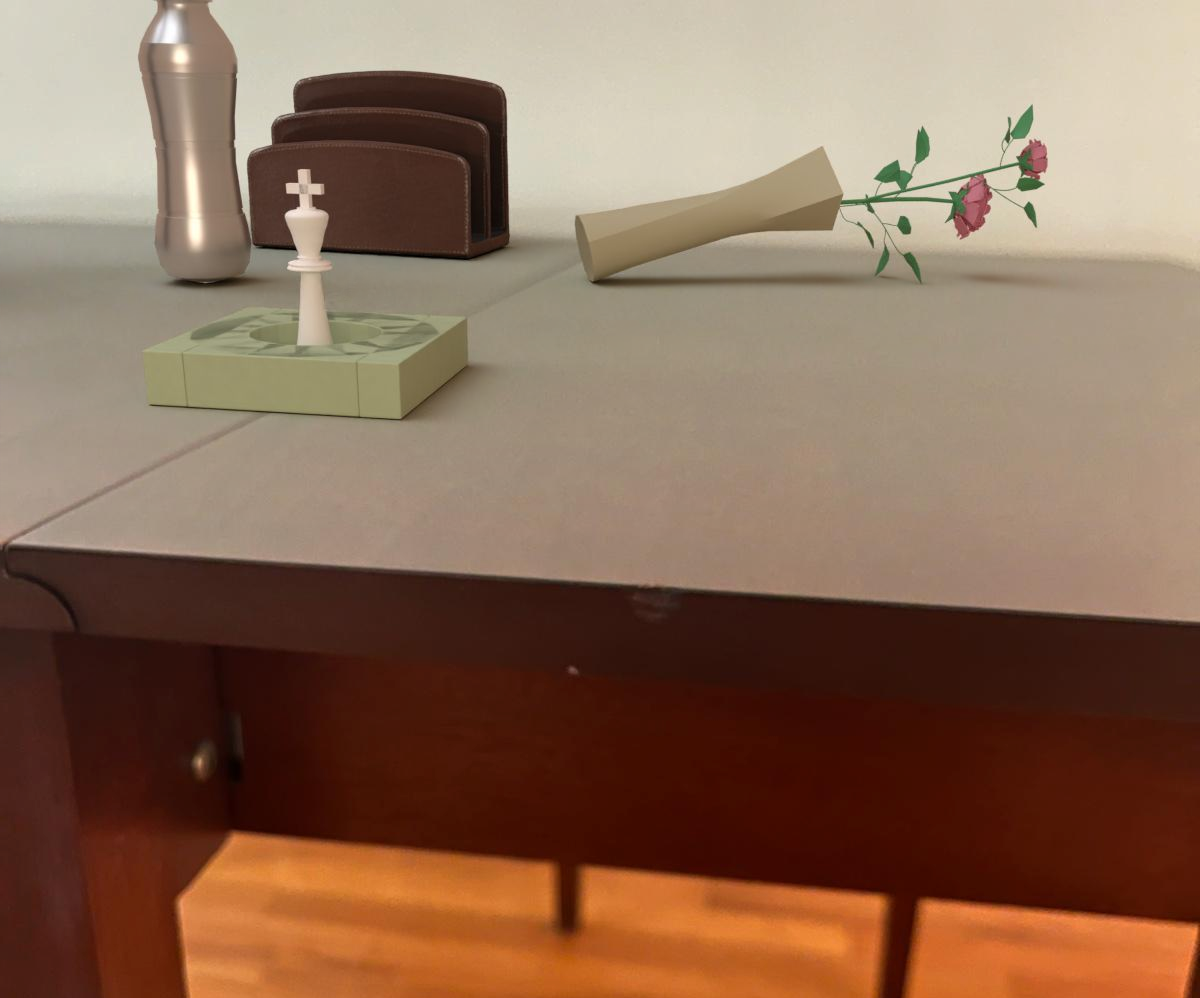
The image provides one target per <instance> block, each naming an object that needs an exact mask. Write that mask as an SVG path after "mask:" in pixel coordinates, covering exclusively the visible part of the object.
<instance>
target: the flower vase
mask: <svg viewBox="0 0 1200 998" xmlns="http://www.w3.org/2000/svg"><path fill="white" fill-rule="evenodd" d="M1033 105H1034V104H1033V103H1032V104H1030V106H1029V107H1028V108H1027V109H1026V110H1025V111H1024V113H1023V114H1021V116H1020V118H1019V119H1018V121H1017V122H1016V124H1015V126H1014V127H1013V129H1012V130H1011V127H1012V117H1010V116H1007V124H1008V129H1007V131H1006V134H1005V136H1004V138H1003V139H1002V141H1001V145H1000V146H1001V150H1002V152H1003V153H1002V156H1001V158H1000V162H999V166H997V167H996V166H995V167H992V168H988V169H984V170H980V171H977V172H972V173H969V174H965V175H960V176H956V177H952V178H949V179H944V180H940V181H935V182H932V183H926V184H922V185H917V186H912V187H908V184H909V183H910V181H912V179H913V178H914V176H913V173H914V172H915V171H914V170H915V168H916V167H917V165H919V164H920V163H922V162H923V161H925V160H926V158H928V157H929V155H930V150H931V147H930V137H929V135H928V133H927V131H926V129H925V127H924V125H921V128H920V129H917V133H916V141H915V157H914V161H915V163H914V164H913V166H912V168H911V170H910V172H908V171H906V170H905V169H903V170H902V169H901V165H900V163H899V162H900V161H899V159H896V160H894V161H892V162H891V163H889V164H887V165H886V166H884V167H883V168H882V169H881V170H880V171H879V172H878V173H877V174H876V176H875V177H873V180H875V181H878V182H880V183H879V184H878V187H877V188H876V191H875V193H874V195H873V196H869V194H867V193H865V198H858V199H856V198H855V199H854V198H853V199H843V198H844V191H843V189H842V186H841V184H840V182H839V180H838V177H837V175H836V173H835V170H834V168H833V166H832V164H831V161H830V159H829V157H828V154H827V152H826V150H825V147H824V146H823V145H821V146H819V147H817V148H816V149H813V150H812V151H809V152H807V153H806V154H803V155H801V156H800V157H798V158H796V159H794V160H792V161H790V162H788V163H786V164H784V165H782V166H780V167H778V168H777V169H775V170H773V171H771V172H768V173H767V174H765V175H762V176H759V177H757V178H754V179H752V180H751V179H750V180H749V181H746V182H744V183H741V184H738V185H735V186H731V187H728V188H725V189H722V190H717V191H713V192H708V193H703V194H697V195H692V196H686V197H680V198H675V199H669V200H662V201H656V202H650V203H642V204H637V205H632V206H627V207H623V208H616V209H609V210H605V211H599V212H591V213H590V212H589V213H582V214H575V218H574V230H575V238H576V243H577V247H578V253H579V257H580V259H581V262H582V266H583V270H584V272H585V274H586V276H587V278H588V280H589V281H590V282H597V281H599V280H602V279H605V278H607V277H610V276H612V275H615V274H618V273H621V272H623V271H624V272H625V271H627V270H629V269H632V268H634V267H637V266H641V265H643V264H647V263H650V262H653V261H657V260H659V259H662V258H666V257H669V256H673V255H675V254H679V253H682V252H685V251H688V250H692V249H694V248H698V247H701V246H705V245H707V244H710V243H711V244H712V243H714V242H717V241H720V240H724V239H728V238H731V237H736V236H742V235H748V234H754V233H765V232H816V231H817V232H821V231H822V232H824V231H833V230H834V227H835V224H836V220H837V217H838V213H839V212H840V215H841V217H842V218H843V220H844V221H845V222H848V223H850V224H851V223H852V224H854V225H856V226H857V227H859V228H861V229H862V230H863V231H864V233H865V235H866V237H867V240H868V241H869V244H870V245H871V247H872V249H875V241H874V238H873V236H872V233H871V232H870V231H868V229H867V228H865V227H864V225H863V224H862V223H861V222H860V221H857V222H854V221H850V220H847V219H846V218H845V217H844V215H843V212H842V210H841V208H843V207H844V208H845V207H855V206H865V207H866V209H867V212H869V213H870V214H873V215H874V216H875V217H876V218H877V220H878V221H879V222H880V224H881V225H882V227H883V228H884V238H883V251H882V253H881V256H880V259H879V261H878V264H877V267H876V270H875V273H874V277H876V276H878V275H879V274H880V273H881V272H883V270H884V269H885V268H886V266H887V264H888V262H889V260H890V255H891V254H890V251H889V248H888V246H887V244H886V243H885V239H886V235H887V236H888V238H889V239H890V241H891V243H892V245H893V246H894V248H895V250H896V252H898V253H899V254H900V256H902V257H903V258H904V260H905V262H906V263H907V264H908V265H909V267H911V269H912V272H913V273H914V275H915V277H916V279H917V280H918V281H919V283H920V285H922V284H923V281H922V275H921V269H920V266H919V263H918V261H917V258H916V257H915V256H914V254H913V253H912V252H911V251H908V252H905V253H902V252H901V251H900V250H899V249H898V248H897V246H896V244H895V243H894V241H893V239H892V237H891V236H890V234H889V231H888V230H887V228H886V226H885V225H887V226H893V227H897V228H898V229H899V231H900V232H901V234H902V235H903V236H904V235H906V236H907V235H911V234H912V225H911V222H910V220H909V218H908V217H907V216H906V215H899V219H898V222H897V223H896V224H893V223H888V222H887V223H886V222H882V220H881V219H880V217H879V216H878V215H877V214H876V211H875V209H874V208H873V206H872V204H876V203H880V204H881V203H894V202H895V203H896V202H930V203H942V204H952V205H951V209H950V213H949V215H948V216H947V218H946V220H945V221H944V224H946V223H948V222H950V221H953V223H954V229H955V230H956V231H957V233H956V238H959V240H960V241H962V240H963V239H965V238H967V237H969V236H970V234H971V233H974V232H976V231H979V230H980V228H982V227H983V226H984V225H985V223H986V218H985V216H986V215H988V214H989V213H990V211H991V210H992V207H991V204H988V203H989V202H990V201H991V200H992V199H993V192H992V191H994V192H995V193H997V194H999V195H1000V197H1002V198H1004V199H1006V200H1007V201H1009V202H1010V203H1012V204H1014V205H1016V206H1018V207H1019V208H1020V209H1021V208H1022V209H1023V211H1024V213H1025V214H1026V216H1027V218H1028V219H1029V221H1031V222H1032V224H1033V226H1034V227H1035V229H1037V228H1038V221H1037V212H1036V210H1035V206H1034V204H1033V203H1032V202H1031V201H1027V202H1026V204H1025V206H1021V205H1020V204H1018V203H1016V202H1014V201H1013V200H1011V199H1010V198H1008V197H1006V196H1005V195H1003V194H1002V193H1000V192H1010V191H1013V190H1016V189H1017V190H1019V191H1020V192H1029V191H1035V190H1038V189H1040V188H1041V187H1043V186H1045V185H1046V183H1044V182H1042V181H1041V175H1040V174H1041V173H1044V174H1046V172H1047V169H1048V165H1049V158H1048V156H1047V155H1048V148H1047V146H1046V145H1045V143H1042V141H1041V140H1040V139H1039V140H1037V139H1036V138H1033V140H1032V139H1029V140H1028V144H1027V145H1026V146H1025V147H1024V148H1023V149H1022V150H1021V152H1020V154H1019V155H1016V156H1015V158H1016V160H1017V161H1016V162H1012V163H1008V164H1004V165H1002V162H1003V158H1004V155H1005V153H1006V151H1007V150H1008V148H1009V146H1010V145H1011V143H1012V142H1013V141H1014V140H1022V139H1026V137H1027V136H1028V135H1029V133H1030V131H1031V128H1032V125H1033V122H1034V106H1033ZM1011 138H1012V139H1011ZM1004 141H1005V142H1006V144H1007V146H1006V147H1005V149H1004V146H1003V145H1004ZM1017 166H1018V169H1019V171H1020V177H1019V178H1018V180H1017V183H1016V185H1015V187H1013V188H1011V189H1010V188H1009V189H998V188H993V187H992V186H990V185H989V184H988V182H987V181H988V180H987V178H986V177H985V174H989V173H992V172H997V171H1001V170H1004V169H1005V170H1006V169H1009V168H1013V167H1017ZM1023 176H1025V177H1023ZM969 178H970V179H969ZM965 179H969V180H968V181H967V182H966V183H964V184H963V185H962V186H961V187H960V188H959V189H958V191H951V190H950V191H948V194H949V196H950V198H949V199H948V198H941V197H930V196H899V195H900V194H903V193H904V194H905V193H908V192H913V191H917V190H923V189H926V188H927V189H928V188H932V187H935V186H941V185H944V184H949V183H954V182H957V181H961V180H965ZM893 182H894V183H896V184H897V186H898V187H899V190H895V191H890V192H885V193H882V194H878V191H879V188H880V187H881V185H882V184H883V183H884V184H889V183H893ZM990 190H992V191H990ZM890 196H891V197H890ZM960 236H961V237H960Z"/></svg>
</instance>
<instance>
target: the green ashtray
mask: <svg viewBox="0 0 1200 998" xmlns="http://www.w3.org/2000/svg"><path fill="white" fill-rule="evenodd" d="M299 312H300V308H280V307H279V308H278V307H260V306H259V307H258V306H254V307H253V306H248V307H245V308H242V309H241V310H238V311H236V312H234V313H231V314H228V315H225V316H224V317H221V318H219V319H216V320H214V321H210V322H209V323H206V324H203V325H201V326H199V327H197V328H194V329H192V330H189V331H186V332H184V333H181V334H180V335H177V336H175V337H172V338H170V339H166V340H165V341H162V342H160V343H157V344H155V345H152V346H150V347H148V348H145V349H143V350H142V352H141V354H142V362H143V363H142V364H143V373H144V380H145V388H146V389H145V391H146V398H147V403H148V405H150V406H151V405H153V406H166V407H167V406H169V407H186V408H187V407H190V408H201V409H202V408H203V409H204V408H205V409H219V410H220V409H222V410H235V411H236V410H237V411H239V410H240V411H253V412H254V411H255V412H270V413H271V412H272V413H273V412H274V413H289V414H306V415H324V416H338V417H339V416H340V417H341V416H342V417H355V418H357V417H358V418H371V419H372V418H373V419H374V418H375V419H377V418H378V419H388V420H389V419H390V420H391V419H392V420H401V419H403V418H405V416H407V415H408V414H409V413H410V412H412V411H413V410H414V409H415V408H416V407H418V406H419V405H420V404H422V403H423V402H424V401H425V400H426V399H427V398H429V397H430V396H431V395H433V394H434V393H435V392H436V391H437V390H438V389H440V388H441V387H442V386H443V385H445V384H446V383H447V382H448V381H449V380H451V379H452V378H453V377H454V376H455V375H457V374H459V372H461V371H462V370H463V369H464V368H465V367H467V366H468V365H469V347H468V346H469V343H468V342H469V341H468V339H469V338H468V317H467V316H451V315H429V314H428V315H427V314H409V313H408V314H407V313H389V312H388V313H387V312H386V313H385V312H384V313H383V312H364V311H342V310H326V312H327V318H328V323H329V328H330V333H331V338H332V342H333V345H297V340H298V329H299Z"/></svg>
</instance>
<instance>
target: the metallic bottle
mask: <svg viewBox="0 0 1200 998" xmlns="http://www.w3.org/2000/svg"><path fill="white" fill-rule="evenodd" d="M155 1H156V2H157V3H156V4H157V6H156V7H157V9H156V10H157V11H156V13H155V14H154V16H153V18H152V19H151V22H150V23H149V24H148V26H147V28H146V29H145V31H144V34H143V36H142V38H141V41H140V43H139V49H138V53H137V62H138V68H139V72H141V81H142V86H143V90H144V94H145V99H146V102H147V108H148V113H149V116H150V123H151V130H152V137H153V140H154V142H155V147H154V150H155V159H156V181H157V182H156V186H157V187H156V189H157V192H156V193H157V209H158V211H157V212H158V213H157V214H156V217H155V225H154V227H155V229H154V247H155V250H156V255H157V259H158V262H159V266H160V267H161V268H162V269H163V271H164V272H165V273H166V275H168V276H169V277H173V278H176V279H182V280H186V281H190V282H196V283H201V284H210V283H211V284H212V283H216V282H220V281H224V280H227V279H230V278H234V277H237V276H240V275H244V274H245V272H246V270H247V269H248V267H249V265H250V264H251V263H250V262H251V252H252V251H251V250H252V237H251V233H250V232H251V231H250V228H249V223H248V220H247V216H246V213H245V211H244V210H243V208H244V205H243V200H242V193H241V186H240V180H239V179H240V178H239V173H238V165H237V147H235V141H236V104H237V89H238V77H237V74H238V71H239V70H238V69H239V68H238V61H239V60H238V57H237V54H236V51H235V48H234V45H233V43H232V42H231V40H230V39H229V37H228V35H227V34H226V33H225V30H224V29H223V27H221V26H220V24H219V22H218V21H217V20H216V19H215V17H214V16H213V15H212V13H211V12H210V6H209V4H210V3H213V2H214V0H154V2H155Z"/></svg>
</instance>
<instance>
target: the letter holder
mask: <svg viewBox="0 0 1200 998" xmlns="http://www.w3.org/2000/svg"><path fill="white" fill-rule="evenodd" d="M292 99H293V110H294V112H291V113H286V114H281V115H279V116H277V117H276V118H275V119H274V120H273V122H272V123H271V127H270V134H271V135H270V137H271V138H270V139H271V144H270V145H266V146H261V147H258V148H255V149H253V150H252V151H250V153H249V155H248V157H247V159H246V173H247V185H248V186H247V187H248V188H247V189H248V199H249V200H248V202H249V203H248V204H249V218H250V219H249V220H250V222H249V223H250V232H251V233H250V236H251V244H252V245H253V246H254V247H261V246H268V247H267V248H284V249H296V250H297V248H296V246H295V244H294V241H293V237H292V234H291V232H290V229H289V227H288V225H287V222H286V219H285V214H286V213H287V212H288V211H290V210H295V209H297V207H300V197H299V194H290V193H287V192H286V184H287V183H299V182H298V170H300V169H308V170H310V175H311V184H324V194H321V195H319V194H312V207H316V209H318V210H323V211H325V212H326V213H327V214H328V216H329V218H328V223H327V227H326V230H325V233H324V238H323V244H322V247H321V250H320V251H334V252H349V253H351V252H352V253H353V252H354V253H369V254H370V253H371V254H372V253H373V254H385V255H386V254H391V255H406V256H407V255H408V256H421V257H423V256H424V257H435V258H453V259H467V260H468V259H471V258H474V257H477V256H480V255H483V254H486V253H489V252H492V251H495V250H498V249H501V248H504V247H506V246H508V245H509V243H510V237H511V233H510V198H509V197H510V195H509V153H508V152H509V151H508V104H507V103H508V101H507V100H508V99H507V96H506V92H505V91H504V89H503V87H502V86H500V85H499V84H497V83H495V82H492V81H487V80H483V79H482V80H481V79H477V78H472V77H467V76H466V77H465V76H459V75H454V74H444V73H437V72H428V71H418V70H417V71H416V70H364V71H363V70H362V71H349V72H336V73H329V74H320V75H314V76H309V77H304V78H301V79H299V80H297V82H296V83H295V84H294V86H293V91H292Z"/></svg>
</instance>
